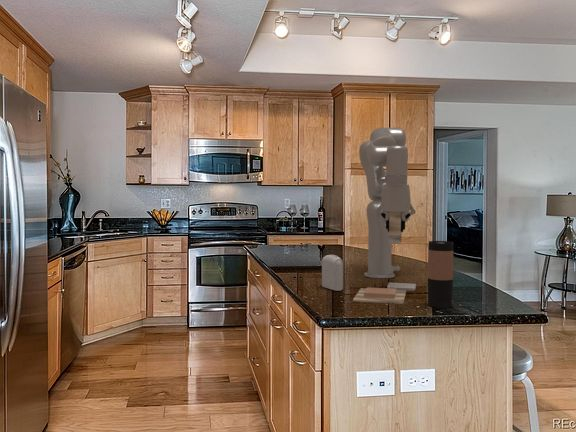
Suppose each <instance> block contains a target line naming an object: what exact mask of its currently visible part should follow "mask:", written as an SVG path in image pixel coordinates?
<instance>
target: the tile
mask: <svg viewBox="0 0 576 432" xmlns="http://www.w3.org/2000/svg"><path fill="white" fill-rule="evenodd" d="M365 289H366V290H365V292H364V298H381V299H395V296H396V290H397V289H389V288H387V287H386V288H385V287H371V286H370V287H366V288H365Z"/></svg>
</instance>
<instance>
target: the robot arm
mask: <svg viewBox="0 0 576 432" xmlns="http://www.w3.org/2000/svg"><path fill="white" fill-rule="evenodd" d="M406 135H407V134H406V131H404V129H403V128H400V127H377V128H374V130H372V132H371V133H370V136H369V140H367V141H364V142H362V143H361V144H360V145H359V151H358V153H359V154H358V155H359V161H360V164H361V166H362V169H363V171H364V173H365V179H366V186H367V194H368V197H369V199H370V200H371V201H369V203H368V204H367V206H366V219H367V226H368V233H367V234H368V240H367V241H368V244H367V245H368V246H367V248H368V249H367V259H368V261H367V271H366V272H365V271H364V274H363V275H364V277H366V278H371V279H393V278H395V276H396V274H395V272H396V271H397V272H398V271H400V270H401V266H399V265H395V266H394V265H392V245H393V244H391V243H389V213H390V212H398V213H401V215H402V221H401V233H403V232H404V231H405V230H406V223H407V222H408V221H409V220H410V217H412V216H413V215H415V214H416V213H417V212H416V209H415V208H414V207H413V205H412V203H411V189H410V184H408V164H409V163H408V161H409V151H408V150H409V149H408V147H407V146H406V144H407V136H406ZM384 167H385V168H384Z"/></svg>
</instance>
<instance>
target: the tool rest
mask: <svg viewBox="0 0 576 432" xmlns="http://www.w3.org/2000/svg"><path fill="white" fill-rule="evenodd" d="M386 288H389V289H397V290H402V291H409V292H410V291H412V292H413V291H414V292H416V288H417V284H416V283H406V282H405V283H404V282H388V284H387V287H386Z"/></svg>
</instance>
